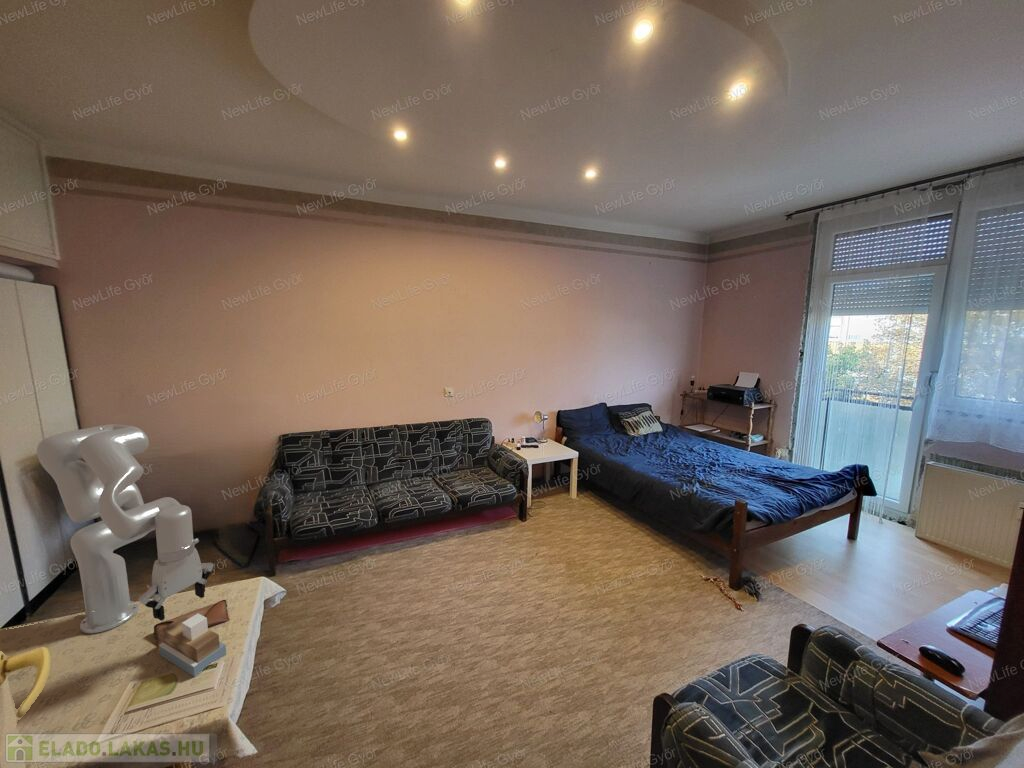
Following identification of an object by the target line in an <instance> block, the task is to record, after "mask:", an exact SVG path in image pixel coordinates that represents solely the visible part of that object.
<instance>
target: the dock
mask: <svg viewBox="0 0 1024 768" xmlns="http://www.w3.org/2000/svg"><path fill="white" fill-rule="evenodd" d="M219 644H220V647H219V648H218V649H217V650H215V651H214V652H212V653H211V654H209V655H208V656H207V657H205V658H204V659H202V660H201V661H199V662H196V661H195V660H193V659H191V658H190V657H188V656H186V655H185V654H183V653H181V652H180V651H178V650H176V649H175V648H173V647H171V646H169V645H168V644H166V643H161V644H159V649H158V650H159V656H161V657H163V658H164V659H165V660H167V661H169V662H171V663H172V664H174V665H175V666H177V667H178V668H180V669H181V670H183V671H184V672H186V673H188V674H189V675H191V676H193V677H197V676H198V675H200V674H199V672H201V671H202V670H203V669H204V668H205V667H207V666H208V665H209V664H211V663H212V662H214V661H216V660H218V659H219V660H221V659H222V658H223V657H224V656H226V655H227V648H226V644H225V643H223V642H221V641H219ZM221 657H222V658H221ZM220 658H221V659H220ZM219 660H218V661H219ZM216 662H217V661H216ZM202 672H203V671H202ZM202 672H201V673H202ZM197 674H198V675H197ZM196 675H197V676H196Z"/></svg>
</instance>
